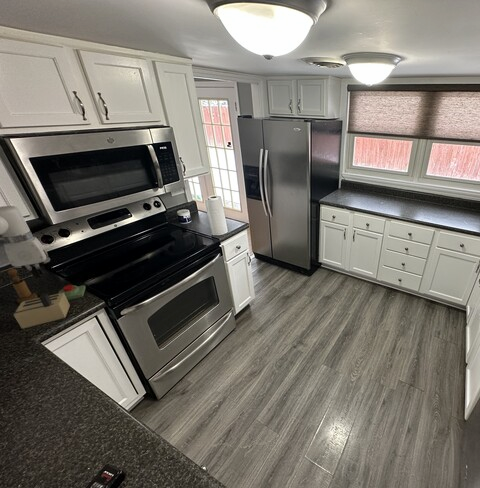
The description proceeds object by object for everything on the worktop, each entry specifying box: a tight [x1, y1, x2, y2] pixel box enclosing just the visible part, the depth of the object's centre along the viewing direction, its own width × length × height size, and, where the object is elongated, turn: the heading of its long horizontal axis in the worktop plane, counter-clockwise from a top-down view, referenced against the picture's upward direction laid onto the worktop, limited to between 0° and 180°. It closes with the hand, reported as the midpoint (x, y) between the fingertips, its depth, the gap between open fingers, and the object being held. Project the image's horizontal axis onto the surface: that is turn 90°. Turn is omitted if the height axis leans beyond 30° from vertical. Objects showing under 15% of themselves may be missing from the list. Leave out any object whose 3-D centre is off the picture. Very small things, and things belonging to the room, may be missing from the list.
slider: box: [39, 292, 52, 307], centre depth 114 cm, size 2×3×5 cm, turn 32°
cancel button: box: [62, 284, 74, 292], centre depth 132 cm, size 4×4×2 cm
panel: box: [57, 284, 87, 301], centre depth 133 cm, size 10×9×4 cm
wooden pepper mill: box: [6, 268, 39, 305], centre depth 125 cm, size 7×6×18 cm
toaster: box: [13, 293, 71, 330], centre depth 118 cm, size 14×10×8 cm
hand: (39, 276), depth 112 cm, fingers closed
